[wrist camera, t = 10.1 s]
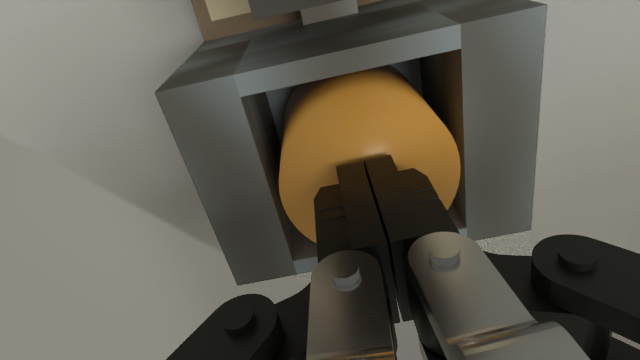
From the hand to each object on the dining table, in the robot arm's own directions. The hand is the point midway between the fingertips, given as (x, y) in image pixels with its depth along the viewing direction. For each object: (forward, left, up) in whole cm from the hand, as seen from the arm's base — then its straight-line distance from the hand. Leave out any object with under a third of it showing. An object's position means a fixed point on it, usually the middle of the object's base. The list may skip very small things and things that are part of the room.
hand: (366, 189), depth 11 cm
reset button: (0, 0, -4) cm, 4 cm away
